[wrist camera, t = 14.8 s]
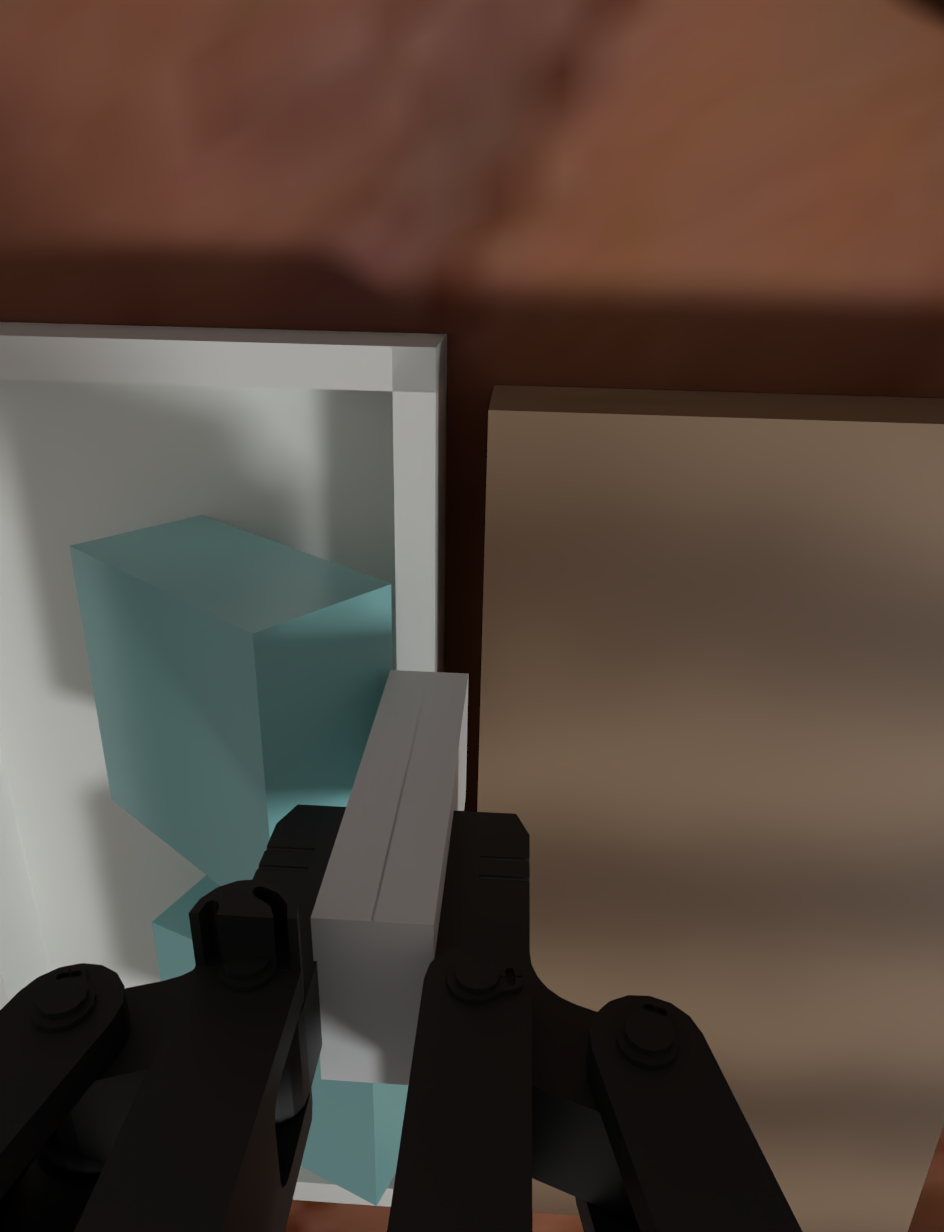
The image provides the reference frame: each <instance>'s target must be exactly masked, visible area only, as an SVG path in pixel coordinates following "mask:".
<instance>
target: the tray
mask: <svg viewBox="0 0 944 1232" xmlns="http://www.w3.org/2000/svg"><path fill="white" fill-rule="evenodd" d="M446 427H447V334H426V333H389V332H352V331H315V330H279V329H242V328H205V327H168V326H131V325H95V324H58V323H21V322H0V1010H1V1009H2V1008H3V1007H4V1006H5V1005H6V1004H7V1003H8V1002H9V1001H10V1000H11V999H12V998H13V997H14V996H15V995H16V994H17V993H18V992H19V991H20V990H22V989H23V988H24V987H26V986H27V985H28V984H29V983H31V982H32V981H33V980H35V979H36V978H37V977H39V976H42V975H44V974H46V973H48V972H50V971H53V970H55V969H57V968H59V967H64V966H69V965H75V964H80V963H87V964H97V965H103V966H105V967H107V968H109V969H111V970H112V971H114V972H116V973H117V974H118V976H119V977H120V979H121V981H122V983H123V984H124V987H125V988H129V987H134V986H140V985H145V984H150V983H155V982H160V981H161V980H160V973H159V967H158V960H157V954H156V947H155V941H154V935H153V928H152V921H154V920H155V919H156V918H157V917H158V916H159V915H160V914H162V913H163V912H164V911H165V910H166V909H167V908H169V907H170V906H171V905H172V904H173V903H174V902H176V901H177V900H178V899H179V898H180V897H181V896H183V895H184V894H185V893H186V892H187V891H188V890H189V889H191V888H192V887H193V886H194V885H195V884H196V883H198V882H199V881H200V880H201V879H202V878H203V877H205V876H206V874H205V873H203V872H202V871H201V870H200V869H198V868H197V867H196V866H195V865H193V864H192V863H191V862H189V861H188V860H187V859H186V858H184V857H183V856H182V855H181V854H179V853H178V852H177V851H176V850H174V849H173V848H172V847H171V846H169V845H168V844H167V843H166V842H164V841H163V840H162V839H160V838H159V837H158V836H157V835H155V834H154V833H153V832H152V831H150V830H149V829H148V828H147V827H145V826H144V825H143V824H142V823H140V822H139V821H138V820H137V819H135V818H134V817H133V816H131V815H130V814H129V813H128V812H126V811H125V810H124V809H123V808H121V807H120V806H119V805H118V804H116V803H115V802H114V801H113V800H111V794H110V788H109V782H108V776H107V770H106V764H105V758H104V752H103V746H102V740H101V734H100V728H99V722H98V716H97V710H96V704H95V698H94V692H93V686H92V680H91V674H90V668H89V662H88V656H87V650H86V644H85V638H84V632H83V626H82V620H81V614H80V608H79V602H78V596H77V590H76V584H75V577H74V571H73V565H72V559H71V553H70V547H69V546H70V545H74V544H79V543H83V542H87V541H92V540H96V539H100V538H105V537H109V536H113V535H118V534H122V533H126V532H130V531H135V530H139V529H143V528H148V527H152V526H156V525H161V524H165V523H169V522H174V521H178V520H182V519H186V518H191V517H195V516H199V515H204V516H206V517H209V518H212V519H214V520H217V521H220V522H223V523H225V524H228V525H231V526H234V527H236V528H239V529H242V530H245V531H247V532H250V533H253V534H255V535H258V536H261V537H264V538H266V539H269V540H272V541H275V542H277V543H280V544H283V545H286V546H288V547H291V548H294V549H297V550H299V551H302V552H305V553H307V554H310V555H313V556H316V557H318V558H321V559H324V560H327V561H329V562H332V563H335V564H338V565H340V566H343V567H346V568H349V569H351V570H354V571H357V572H359V573H362V574H365V575H368V576H370V577H373V578H376V579H379V580H381V581H384V582H387V583H390V584H391V610H392V670H401V671H422V672H444V653H445V540H446ZM395 1175H396V1173H395ZM395 1175H394V1177H393V1178H392V1180H391V1182H390V1184H389V1185H388V1187H387V1189H386V1191H385V1192H384V1194H383V1196H382V1197H381V1199H380V1201H379V1203H378V1204H377V1206H387V1207H391V1203H392V1196H393V1189H394V1182H395ZM293 1200H304V1201H318V1202H332V1203H346V1204H359V1205H373V1204H372V1203H370V1202H368V1201H366V1200H364V1199H362V1198H360V1197H358V1196H357V1195H355V1194H353V1193H351V1192H349V1191H347V1190H345V1189H343V1188H341V1187H340V1186H338V1185H336V1184H334V1183H332V1182H330V1181H328V1180H326V1179H325V1178H323V1177H321V1176H319V1175H317V1174H315V1173H313V1172H311V1171H310V1170H308V1169H306V1168H304V1167H302V1166H301V1167H300V1171H299V1175H298V1179H297V1183H296V1187H295V1192H294V1196H293ZM373 1206H375V1205H373Z"/></svg>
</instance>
